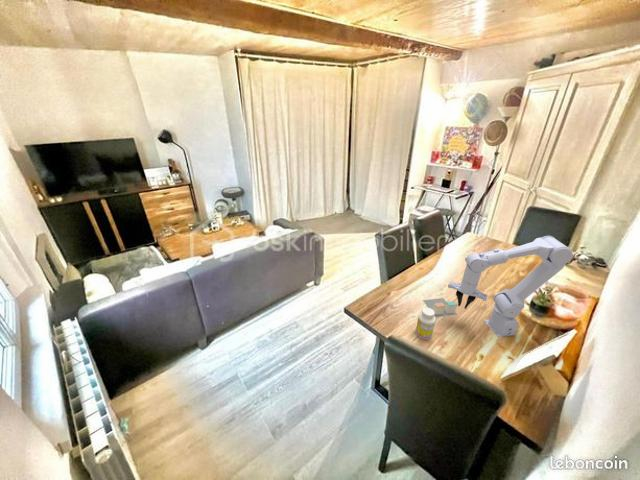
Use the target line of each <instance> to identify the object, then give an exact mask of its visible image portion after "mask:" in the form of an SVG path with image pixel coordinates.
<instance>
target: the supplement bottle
mask: <svg viewBox="0 0 640 480" xmlns="http://www.w3.org/2000/svg"><path fill="white" fill-rule="evenodd" d="M434 314H435V312H434V310H432V309H431V308H428V307H423V308H422V310H421V312H420V313H419V314H418V317H417V318H418V319H417V322H416V328H415V334H416V335H417V336H418V337H419V338H420V339H423V340H429V339H431V338H432V337H433V333H434V330H435V324H436V321H437V317H435V316H434Z"/></svg>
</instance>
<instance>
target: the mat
mask: <svg viewBox="0 0 640 480" xmlns="http://www.w3.org/2000/svg"><path fill="white" fill-rule="evenodd" d="M422 301H423V303H424V304H425V306H426V308H431V309H432V310H433V307H434V303H443V304H444V305H446V302H447V300H446V299H445V298H443V297H442V298H441V297H439V298H431V299H423V300H422ZM434 316H435V318H442V317H449V316H451V317H452V316H458V313H457V312H456V311H455V313H449V314H447V313H446V312H445V311H444V312H443V314H441V315H435V314H434Z"/></svg>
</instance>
